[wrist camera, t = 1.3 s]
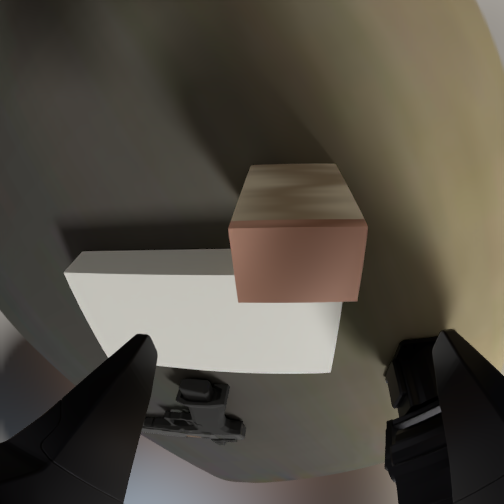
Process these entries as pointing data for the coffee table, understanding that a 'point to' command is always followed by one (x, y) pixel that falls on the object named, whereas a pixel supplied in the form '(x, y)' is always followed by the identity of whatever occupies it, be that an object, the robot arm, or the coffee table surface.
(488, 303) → the coffee table surface
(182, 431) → the handgun
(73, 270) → the panel
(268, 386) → the coffee table surface
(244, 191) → the brown and pink block
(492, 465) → the robot arm
